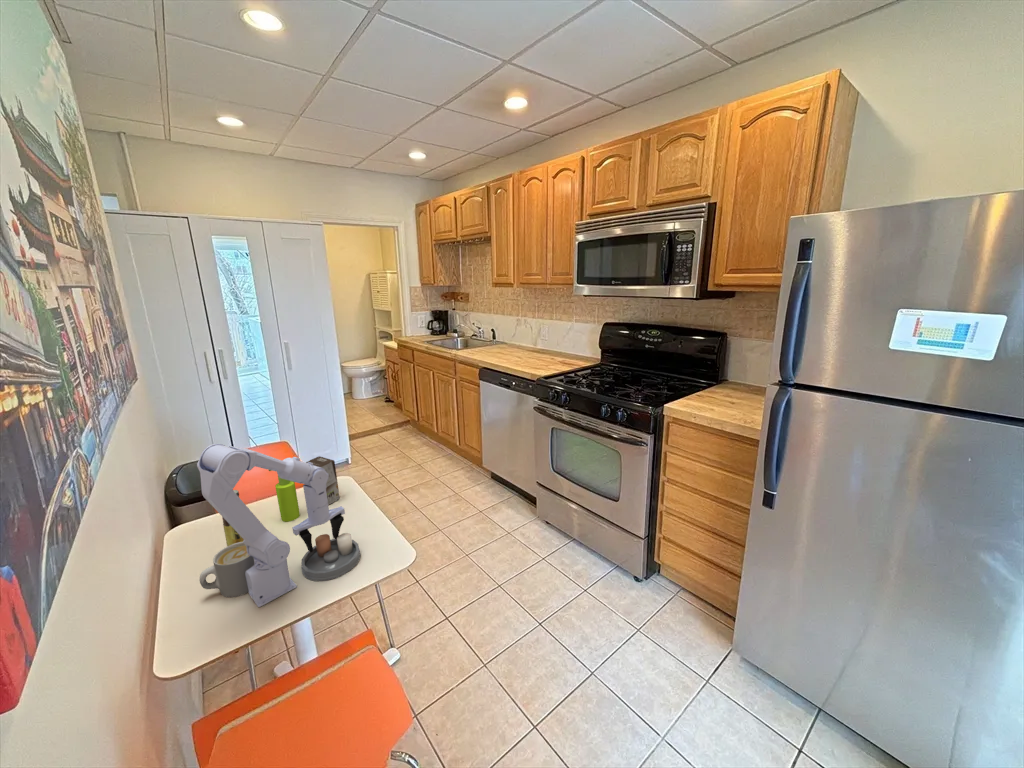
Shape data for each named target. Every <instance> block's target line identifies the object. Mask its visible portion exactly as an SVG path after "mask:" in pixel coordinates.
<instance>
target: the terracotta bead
mask: <svg viewBox="0 0 1024 768" xmlns="http://www.w3.org/2000/svg"><path fill="white" fill-rule="evenodd" d="M330 540H331V538H330V534H327V533H324V534H323V533H322V534H320V535H318V536H316V538H315V539H314V541H315V546H316V548H317V554H318V556H319V557H324V554H325V553H327V552H328V551H331V550H332V548H331V542H330Z"/></svg>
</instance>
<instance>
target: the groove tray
mask: <svg viewBox="0 0 1024 768" xmlns="http://www.w3.org/2000/svg"><path fill="white" fill-rule="evenodd" d="M330 542H331V548H332V550H331V551H328V552H327V553H325V554H324V557H319V556H318V554H317V548H316V545H314V546H313V552H310V551H309V550H307V551H306V552H305V554H304V555H303V556H302V559H301V572H302V576H303V577H304V578H306V579H307V580H310V581H311V582H312V581H313V582H325V581H331V580H334V579H338V578H340V577H342V576H343V575H346V574H347V573H349V572H350V571H352V570H353V569H354V568H355V567H356V566H357V565H358V563H359V561H360V560H361V555H362V554H361V550H360V547H359V546H360V545H359V543H358V542H357V541H355V540H354V539H352V545H353V551H352V553H350V554H348V555H345V556H342V555H340V554H339V550H338V543H337V540H336V539H335V538H332V539H330Z"/></svg>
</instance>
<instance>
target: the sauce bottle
mask: <svg viewBox="0 0 1024 768" xmlns="http://www.w3.org/2000/svg"><path fill="white" fill-rule="evenodd" d="M233 491H234V492H235V493H236V494H237V496H238V497H239V498H240V492H239V490H238V489H233ZM221 517H222V516H221ZM222 523H223V525H222V526H223V532H224V536H225V541H226V542H225V543H226V547H227V546H230V545H232V544H235V543H239V542H243V541H244V539H243V538H242V537H241V536H240V535H239V534H238V533H237V532H236V531H235V530H234V528H233V527H232V526H231V525H230V524H229V523H228V522H227V521H226V520H225V519H224V518H223V517H222Z"/></svg>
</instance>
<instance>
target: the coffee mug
mask: <svg viewBox="0 0 1024 768" xmlns="http://www.w3.org/2000/svg"><path fill="white" fill-rule="evenodd" d="M212 563H213V565H211V566H210V567H207V568H205V569H204V570H202V571H201V573H200V574H199V584H200V586H201V587H202V588H203V589H205V590H213V589H217V590H219V592H220V595H222V597H224V598H236V597H240V596H242V595H246V594H247V593H248V594H249V590H248V585H247V580H246V575H245V571H247V570H248V569H250V568H251V567H252V566H254V558H253V557H252V556H250V555H248V553H247V549H246V545H245V544H244V543H243V542H239V543H235V544H232V545H230V546H227V545H226V547H224V548H222V549H221V550H219V551H218V552H217V553H216V554H215V555H214V557H213V560H212ZM211 574H212V575H215V579H214V580H213V581H211V582H208V581H207V577H208V576H210V575H211Z"/></svg>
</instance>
